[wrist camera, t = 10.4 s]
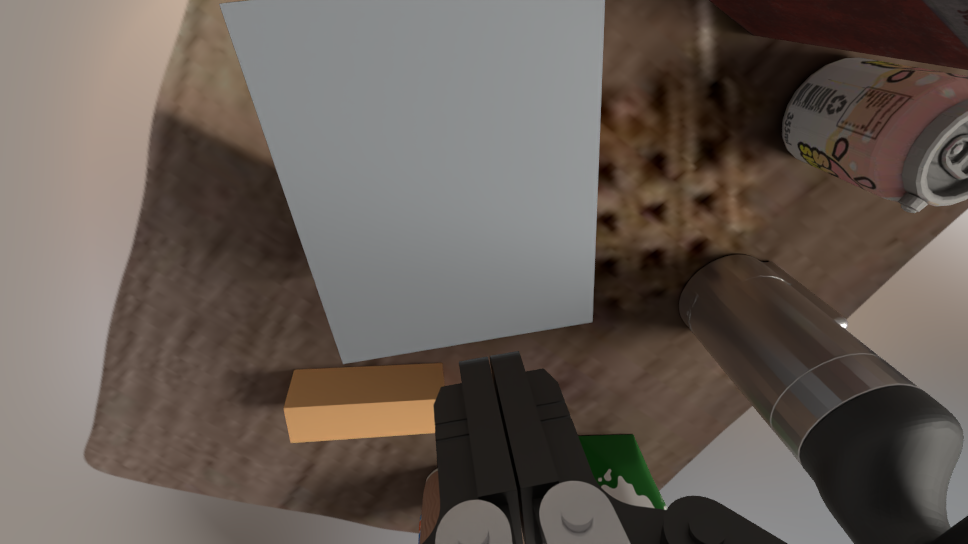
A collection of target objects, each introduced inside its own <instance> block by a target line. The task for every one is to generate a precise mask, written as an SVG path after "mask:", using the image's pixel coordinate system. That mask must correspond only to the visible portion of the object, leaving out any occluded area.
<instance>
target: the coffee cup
mask: <svg viewBox="0 0 968 544" xmlns="http://www.w3.org/2000/svg"><path fill="white" fill-rule="evenodd" d="M439 512H440V495H439V480H438V468H437V469H436V470H434V471H433V472H432V473H431V474H430V475H429V476H428V477H427V479H426V483H425V488H424V492H423V503H422V515H421V517H420V524H419V544H422V543H423V542H424V541H425V540H426V539H427V538H428V537H429V535H430V534H431V532H432V531H433V529H434V527H435V525H436V523H437V520H438V517H439Z"/></svg>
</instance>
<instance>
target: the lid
mask: <svg viewBox="0 0 968 544" xmlns="http://www.w3.org/2000/svg"><path fill="white" fill-rule="evenodd" d="M219 5H220V8H221V10H222V13H223V16H224V19H225V22H226V25H227V28H228V31H229V34H230V37H231V40H232V42H233V45H234V48H235V51H236V54H237V57H238V60H239V63H240V66H241V69H242V72H243V74H244V77H245V80H246V83H247V86H248V89H249V92H250V95H251V98H252V101H253V104H254V106H255V109H256V112H257V115H258V118H259V121H260V124H261V127H262V130H263V133H264V136H265V138H266V141H267V144H268V147H269V150H270V153H271V156H272V159H273V162H274V165H275V168H276V170H277V173H278V176H279V179H280V182H281V185H282V188H283V191H284V194H285V197H286V200H287V202H288V205H289V208H290V211H291V214H292V217H293V220H294V223H295V226H296V229H297V232H298V234H299V237H300V240H301V243H302V246H303V249H304V252H305V255H306V258H307V261H308V264H309V266H310V269H311V272H312V275H313V278H314V281H315V284H316V287H317V290H318V293H319V296H320V298H321V301H322V304H323V307H324V310H325V313H326V316H327V319H328V322H329V325H330V328H331V330H332V333H333V336H334V339H335V342H336V345H337V348H338V351H339V354H340V357H341V360H342V362H343V364H346V363H352V362H358V361H364V360H370V359H376V358H382V357H388V356H394V355H400V354H406V353H412V352H418V351H424V350H430V349H435V348H441V347H447V346H453V345H459V344H465V343H471V342H477V341H483V340H489V339H495V338H501V337H507V336H513V335H519V334H525V333H531V332H537V331H543V330H548V329H554V328H560V327H566V326H572V325H578V324H584V323H590V322H593V297H594V271H595V245H596V219H597V194H598V168H599V142H600V116H601V90H602V64H603V39H604V13H605V0H248V1H239V2H230V3H222V4H219Z"/></svg>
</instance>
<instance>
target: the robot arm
mask: <svg viewBox="0 0 968 544" xmlns="http://www.w3.org/2000/svg"><path fill="white" fill-rule="evenodd" d="M679 312H680V316H681V318H682V319H683V321H684V322H685V324H686V325H687V326H688V327H689V329H690V330H691V331H692V332H693V333H694V335H695V336H696V337H697V338H698V340H699V341H700V342H701V343H702V344H703V346H704V347H705V348H706V350H707V351H708V352H709V353H710V354H711V356H712V357H713V358H714V359H715V361H716V362H717V363H718V364H719V365H720V367H721V368H722V369H723V370H724V372H725V373H726V374H727V375H728V376H729V378H730V379H731V380H732V381H733V382H734V384H735V385H736V386H737V387H738V389H739V390H740V391H741V392H742V393H743V395H744V396H745V397H746V398H747V400H748V401H749V402H750V403H751V404H752V406H753V407H754V408H755V409H756V410H757V412H758V413H759V414H760V415H761V417H762V418H763V419H764V420H765V421H766V423H767V424H768V425H769V426H770V428H771V429H772V430H773V431H774V432H775V433H776V435H777V436H778V437H779V438H780V440H781V441H782V442H783V443H784V444H785V446H786V447H787V448H788V449H789V450H790V452H792V454H793V455H794V457H795V458H796V459H797V460H798V462H799V463H800V464H801V465H802V466H803V468H804V469H805V470H806V472H807V473H808V474H809V475H810V477H811V478H812V479H813V480H814V482H815V484H816V486H817V488H818V490H819V493H820V495H821V497H822V499H823V501H824V503H825V504H826V506H827V508H828V509H829V511H830V512H831V513H832V515H833V516H834V518H835V519H836V520H837V522H838V523H839V524H840V526H841V527H842V528H843V529H844V531H845V532H846V533H847V535H848V536H849V537H850V539H851V540H852V541H853V543H854V544H968V516H967V517H965V518H964V519H963V520H961V521H960V522H958V523H957V524H956V525H954V526H953V527H950V525H949V522H948V519H947V511H946V495H947V489H948V484H949V480H950V478H951V475H952V472H953V470H954V468H955V465H956V463H957V461H958V459H959V456H960V454H961V450H962V447H963V438H964V437H963V431H962V428H961V426H960V423H959V422H958V420H957V419H956V418H955V417H954V416H953V414H952V413H950V412H949V411H948V410H947V409H946V408H945V407H943V406H942V405H941V404H940V403H939V402H937V401H936V400H935V399H933V398H932V397H931V396H930V395H928V394H927V393H926V392H925V391H923V390H921V389H920V388H919V387H918V386H917V385H915V384H914V383H913V382H911V381H910V380H909V379H908V378H906V377H905V376H904V375H902V374H901V373H900V372H899V371H897V370H896V369H895V368H894V367H892V366H891V365H890V364H889V363H888V362H886V361H885V360H884V359H882V358H881V357H879V356H878V355H877V354H876V353H875V352H873V351H872V350H871V349H870V348H868V347H867V346H866V345H864V344H863V343H862V342H861V341H860V340H858V339H857V338H856V337H854V336H853V335H852V334H851V333H849V332H848V331H847V330H846V329H847V326H848V322H847V320H846V318H845V317H843V316H842V315H841V314H840V313H838V312H837V311H836V310H834V309H833V308H832V307H830V306H829V305H828V304H826V303H825V302H824V301H823V300H821V299H820V298H819V297H817V296H816V295H815V294H813V293H812V292H811V291H810V290H808V289H807V288H806V287H804V286H803V285H802V284H800V283H799V282H798V281H797V280H795V279H794V278H793V277H791V276H790V275H789V274H787V273H786V272H785V271H784V270H782V269H781V268H780V267H778V266H777V265H776V264H774V263H773V262H761V261H759V260H757V259H756V258H754V257H751V256H748V255H730V256H726V257H723V258H720V259H717V260H715V261H713V262H711V263H709V264H707V265H706V266H705V267H703V268H702V269H700V270H699V271H698V272H697V273H696V274H695V275H694V276H693V277H692V278H691V279H690V280H689V282H688V283H687V284H686V286H685V288H684V290H683V292H682V293H681V297H680V300H679ZM490 364H491V369H490V365H489V360H488V357H483V358H477V359H472V360H466V361H460V362H459V366H460V373H461V380H462V383H460V384H455V385H449V386H444V387H441V388H440V390H439V393H438V395H437V398H436V400H435V402H434V405H433V407H434V421H435V436H436V451H437V465H438V480H439V495H440V512H439V517H438V520H437V523H436V525H435V527H434V529H433V531H432V532H431V534H430V535H429V537H428V538H427V539H426V540H425V541H424V542H423V543H422V544H523V541H522V533H523V537H524V542H525V544H787V543H786V542H784V541H782V540H781V539H779V538H777V537H776V536H774V535H772V534H771V533H769V532H767V531H766V530H764V529H762V528H760V527H759V526H757V525H756V524H754V523H752V522H751V521H749V520H747V519H745V518H744V517H742V516H741V515H739V514H737V513H735V512H734V511H732V510H731V509H729V508H727V507H725V506H724V505H722V504H720V503H718V502H716V501H715V500H712V499H709V498H706V497H701V496H686V497H683V498H680V499H677V500H675V501H674V502H673V503H672V504H671V505H670V506H669V507H668V508H667V510H664V509H657V508H649V507H642V506H635V505H630V504H627V503H624V502H621V501H619V500H617V499H615V498H614V497H612V496H611V495H609V494H608V493H607V492H605V491H604V490H603V489H602V488H601V486H600V485H599V484H598V483H597V481H596V480H595V478H594V476H593V474H592V471H591V469H590V466H589V463H588V461H587V458H586V455H585V453H584V450H583V448H582V445H581V442H580V440H579V437H578V434H577V432H576V429H575V426H574V424H573V421H572V419H571V417H570V413H569V411H568V408H567V405H566V404H565V401H564V398H563V395H562V392H561V390H560V387H559V384H558V382H557V381H556V380H555V379H554V378H553V377H552V376H551V375H550V374H549V373H548V372H547V371H546V370H545V369H538V370H532V371H527V372H525V369H524V366H523V362H522V359H521V356H520V353H519V351H516V352H511V353H505V354H499V355H494V356H490ZM491 372H492V374H491ZM521 528H522V532H521Z"/></svg>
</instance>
